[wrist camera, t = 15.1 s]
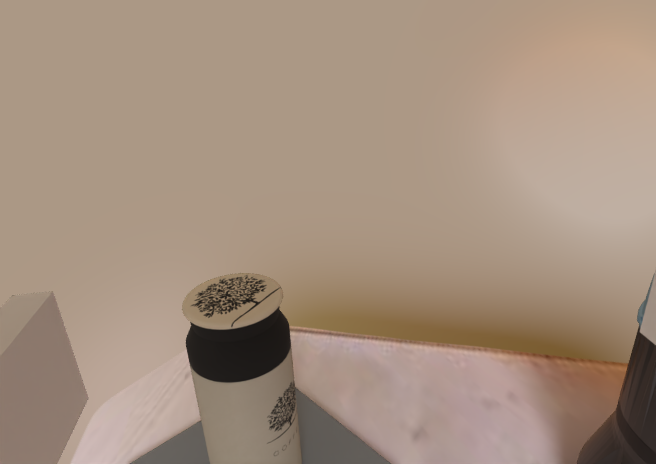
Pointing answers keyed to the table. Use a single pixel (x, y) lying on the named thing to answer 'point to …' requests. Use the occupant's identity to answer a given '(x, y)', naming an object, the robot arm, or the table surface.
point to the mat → (315, 440)
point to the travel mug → (243, 370)
